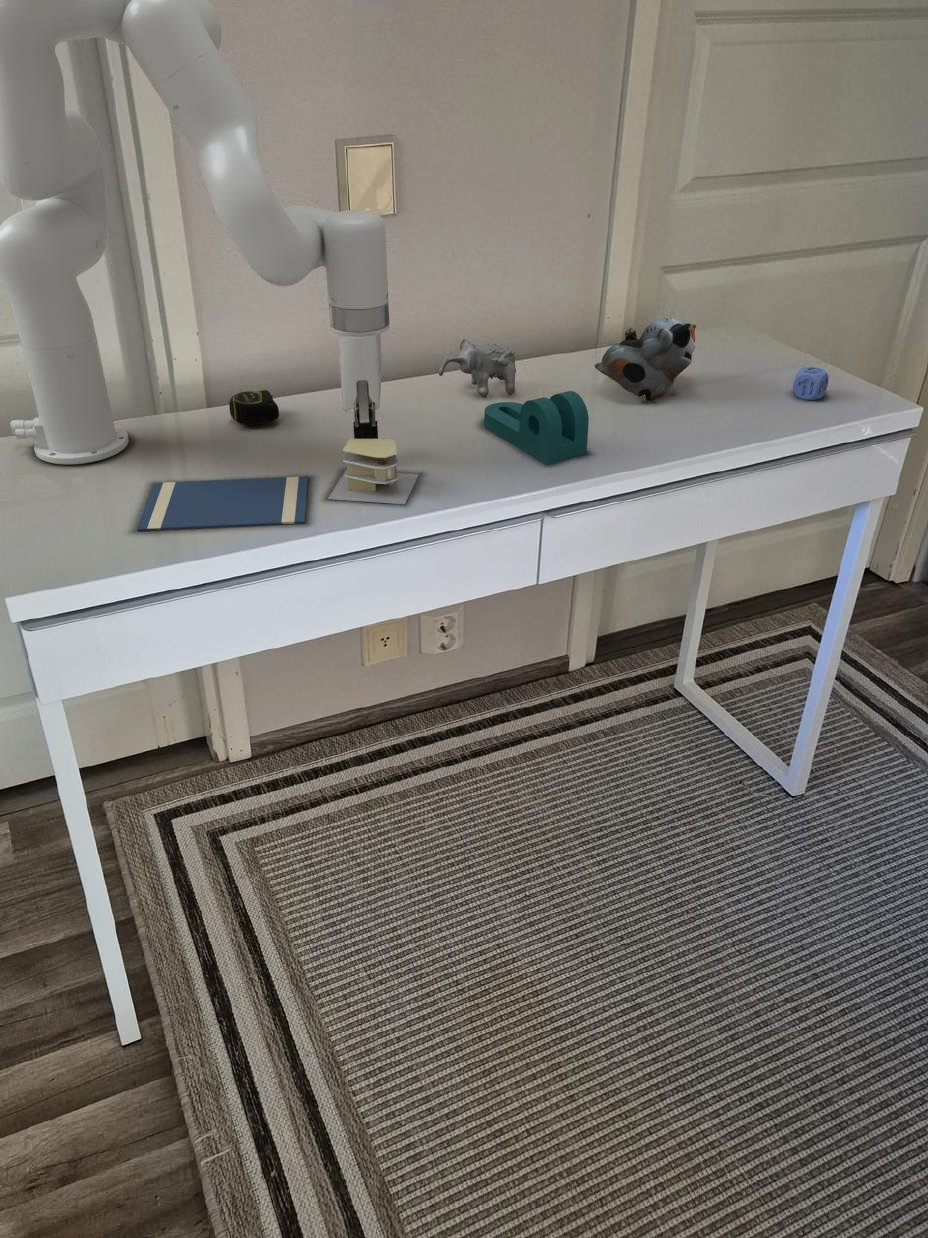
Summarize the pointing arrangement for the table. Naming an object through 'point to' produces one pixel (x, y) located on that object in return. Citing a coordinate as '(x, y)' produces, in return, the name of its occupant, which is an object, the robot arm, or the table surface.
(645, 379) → the lucky cat figurine
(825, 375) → the decorative dice
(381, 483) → the stacked layers on plate
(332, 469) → the table surface
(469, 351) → the gray elephant figurine
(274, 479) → the cloth
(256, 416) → the tape measure
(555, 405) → the bracket
